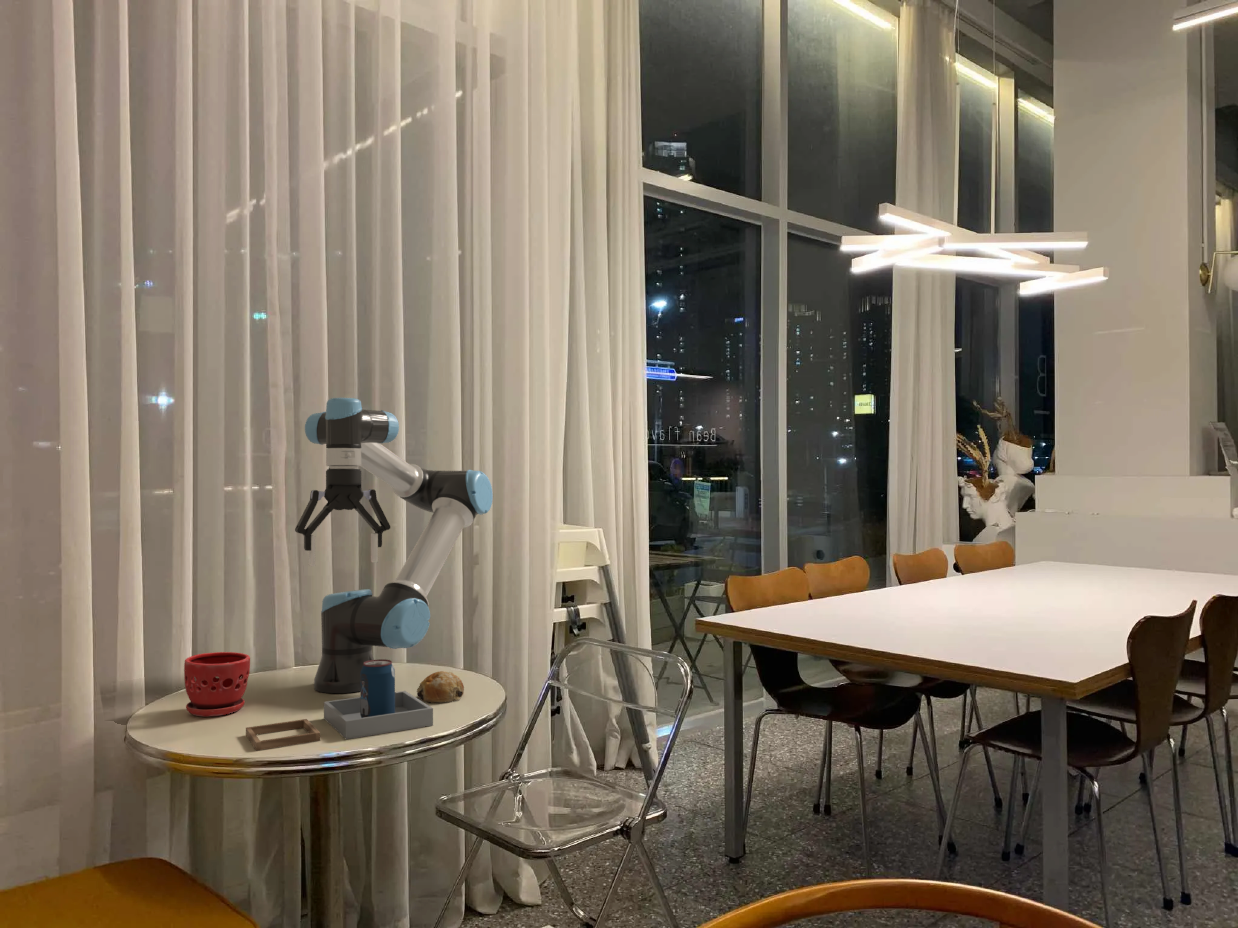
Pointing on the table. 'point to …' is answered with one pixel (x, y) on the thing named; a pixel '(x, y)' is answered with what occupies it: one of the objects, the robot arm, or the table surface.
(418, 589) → the robot arm
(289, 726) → the walnut frame
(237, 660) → the plant pot
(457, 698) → the bread roll
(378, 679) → the soda can
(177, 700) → the table surface
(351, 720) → the grey bin
